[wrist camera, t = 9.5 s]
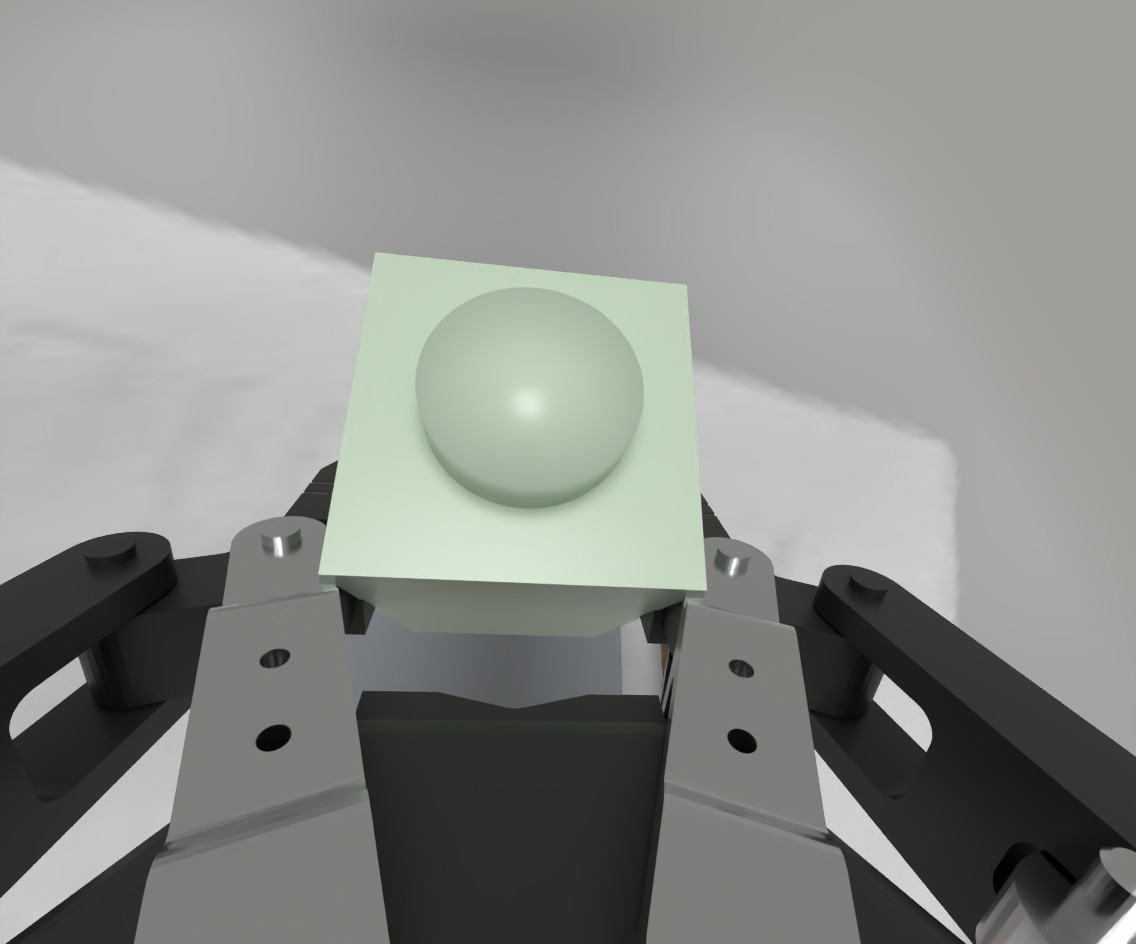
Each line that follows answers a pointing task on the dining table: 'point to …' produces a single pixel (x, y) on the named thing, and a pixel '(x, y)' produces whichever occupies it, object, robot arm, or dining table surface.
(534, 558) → the sage brick
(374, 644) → the slate mat
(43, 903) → the dining table surface
